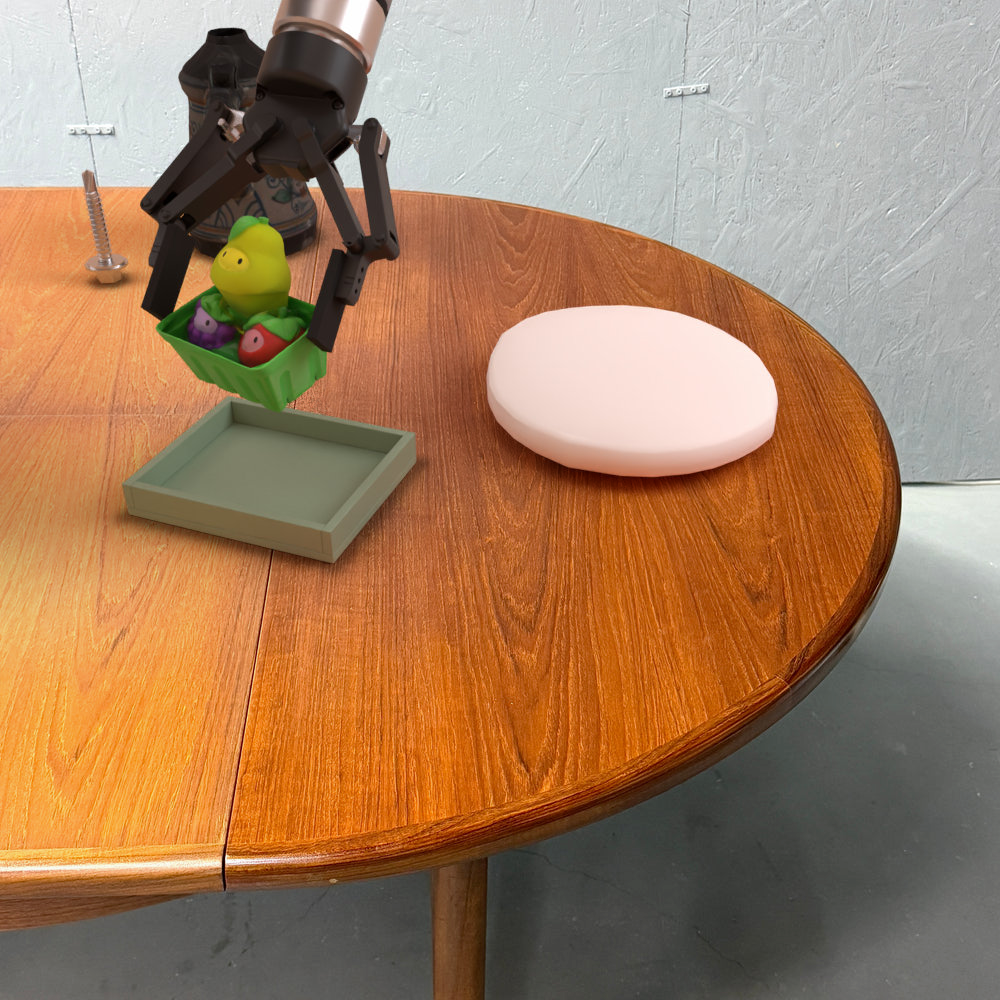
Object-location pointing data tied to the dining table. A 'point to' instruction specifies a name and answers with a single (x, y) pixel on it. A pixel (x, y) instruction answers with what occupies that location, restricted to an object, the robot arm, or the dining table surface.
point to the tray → (273, 477)
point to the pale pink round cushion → (630, 391)
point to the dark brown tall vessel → (232, 79)
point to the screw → (101, 236)
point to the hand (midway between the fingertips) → (235, 330)
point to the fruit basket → (249, 323)
